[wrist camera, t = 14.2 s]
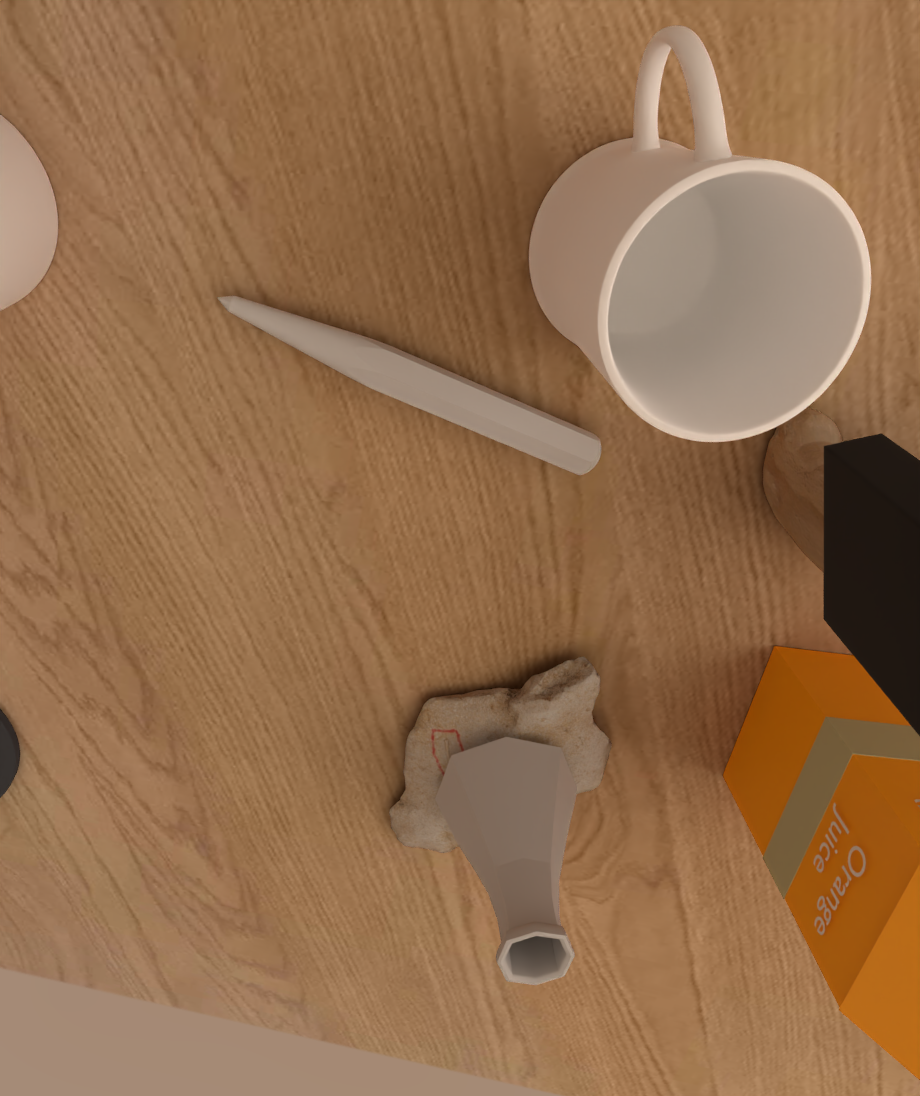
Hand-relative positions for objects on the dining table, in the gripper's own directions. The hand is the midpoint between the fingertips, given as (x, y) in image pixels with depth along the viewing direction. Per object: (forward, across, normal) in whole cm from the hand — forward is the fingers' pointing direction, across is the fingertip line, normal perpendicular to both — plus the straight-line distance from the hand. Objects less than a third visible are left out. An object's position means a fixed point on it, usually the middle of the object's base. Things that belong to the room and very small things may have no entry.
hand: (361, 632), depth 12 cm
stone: (+26, 0, -26) cm, 37 cm away
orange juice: (+26, +17, -28) cm, 42 cm away
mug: (+27, +11, 0) cm, 29 cm away
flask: (+23, 0, -26) cm, 35 cm away
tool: (+27, +1, -5) cm, 27 cm away
